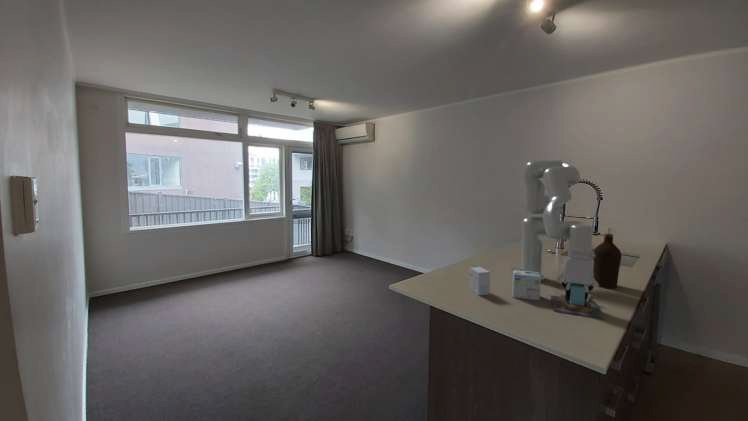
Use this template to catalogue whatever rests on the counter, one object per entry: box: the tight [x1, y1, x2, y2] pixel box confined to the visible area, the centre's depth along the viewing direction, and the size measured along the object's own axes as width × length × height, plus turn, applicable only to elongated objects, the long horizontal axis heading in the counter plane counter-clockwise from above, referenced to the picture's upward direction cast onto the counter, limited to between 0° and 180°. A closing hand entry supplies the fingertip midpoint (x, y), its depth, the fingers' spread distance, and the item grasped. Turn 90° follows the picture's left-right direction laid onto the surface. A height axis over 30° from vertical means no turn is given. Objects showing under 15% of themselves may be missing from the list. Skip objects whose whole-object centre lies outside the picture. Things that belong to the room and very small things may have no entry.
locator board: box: [550, 293, 605, 320], centre depth 125 cm, size 16×16×4 cm
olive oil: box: [592, 233, 622, 290], centre depth 149 cm, size 11×11×25 cm
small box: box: [468, 266, 491, 297], centre depth 141 cm, size 8×6×10 cm
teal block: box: [569, 283, 585, 306], centre depth 125 cm, size 8×4×7 cm, turn 155°
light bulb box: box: [511, 270, 542, 301], centre depth 136 cm, size 11×7×11 cm, turn 71°
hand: (575, 299), depth 125 cm, fingers closed on teal block, 4 cm apart
